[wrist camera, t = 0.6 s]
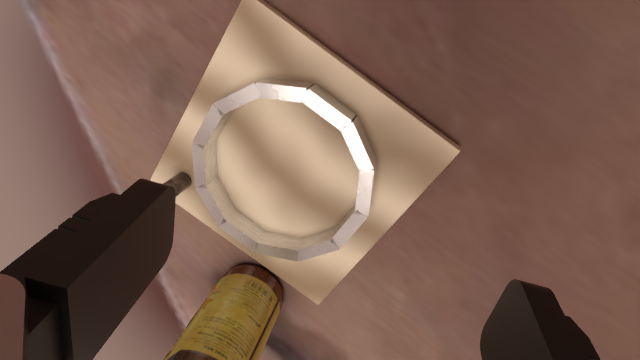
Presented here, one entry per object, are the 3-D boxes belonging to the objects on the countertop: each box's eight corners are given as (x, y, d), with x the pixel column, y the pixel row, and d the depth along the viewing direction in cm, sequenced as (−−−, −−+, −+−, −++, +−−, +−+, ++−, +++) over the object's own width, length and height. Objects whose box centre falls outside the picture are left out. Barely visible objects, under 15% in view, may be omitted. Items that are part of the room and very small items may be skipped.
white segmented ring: (252, 36, 29) (234, 40, 26) (414, 156, 30) (412, 171, 27) (173, 180, 35) (152, 195, 33) (308, 277, 36) (298, 300, 33)
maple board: (252, -8, 29) (245, -9, 28) (459, 146, 30) (460, 151, 29) (156, 178, 37) (148, 183, 36) (321, 296, 38) (318, 304, 37)
